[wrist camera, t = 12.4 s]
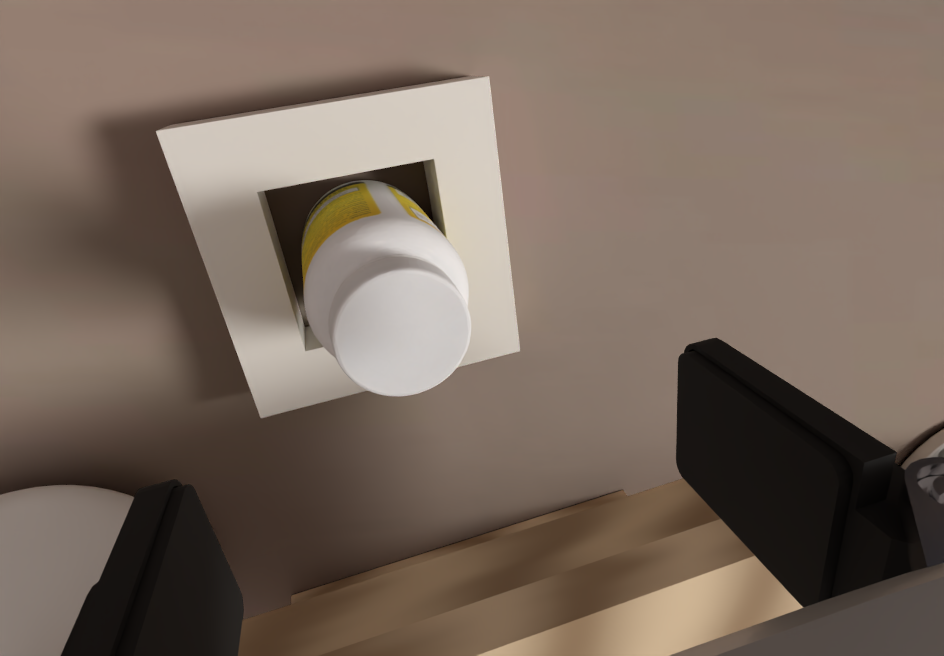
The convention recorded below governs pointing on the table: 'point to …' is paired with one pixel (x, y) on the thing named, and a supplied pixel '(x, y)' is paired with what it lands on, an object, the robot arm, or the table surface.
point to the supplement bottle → (384, 289)
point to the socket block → (328, 156)
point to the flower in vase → (52, 561)
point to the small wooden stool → (544, 589)
